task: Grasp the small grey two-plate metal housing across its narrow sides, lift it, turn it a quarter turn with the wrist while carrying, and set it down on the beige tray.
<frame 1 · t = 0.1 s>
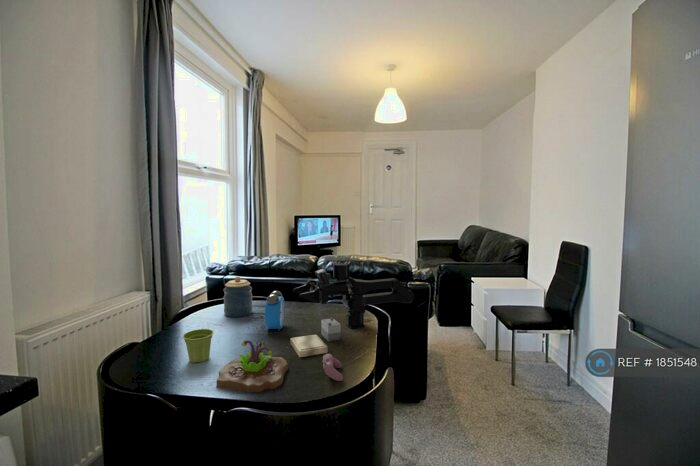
hand: (296, 292, 139), 17 cm above the table, tool horizontal, fingers open, 9 cm apart
plant pot: (199, 359, 118), on the table
plant: (253, 376, 107), on the table
housing: (330, 337, 138), on the table
canister: (238, 313, 167), on the table
beige tray: (308, 347, 127), on the table
alarm clock: (275, 328, 147), on the table
video game controller: (332, 375, 107), on the table
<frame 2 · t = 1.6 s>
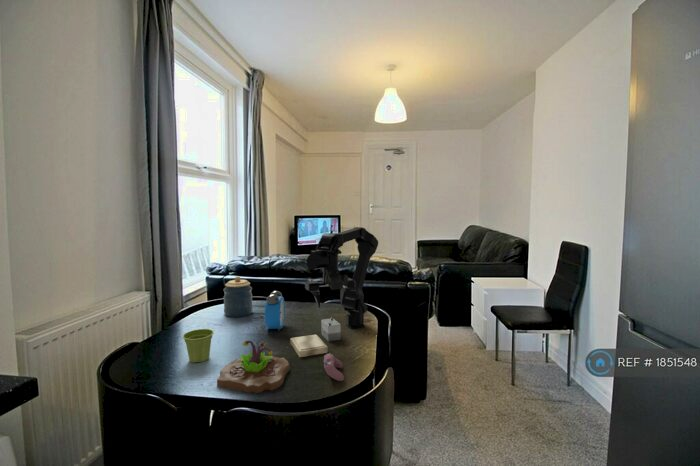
hand: (330, 306, 137), 12 cm above the table, tool pointing down, fingers open, 9 cm apart
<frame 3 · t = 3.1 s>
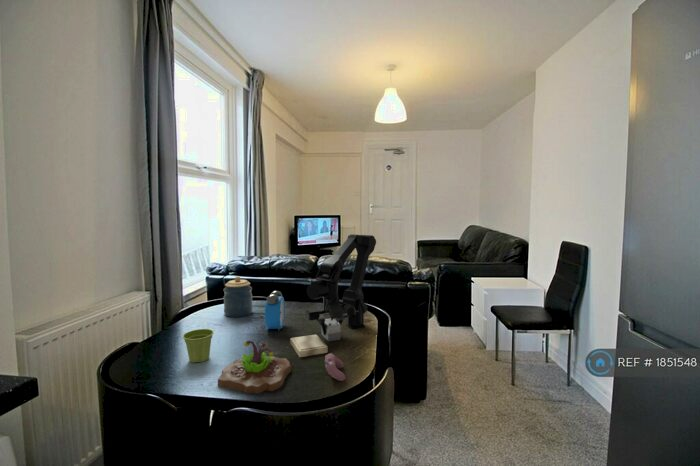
hand: (330, 333, 137), 1 cm above the table, tool pointing down, fingers closed on housing, 5 cm apart
housing: (330, 336, 138), on the table, touching gripper
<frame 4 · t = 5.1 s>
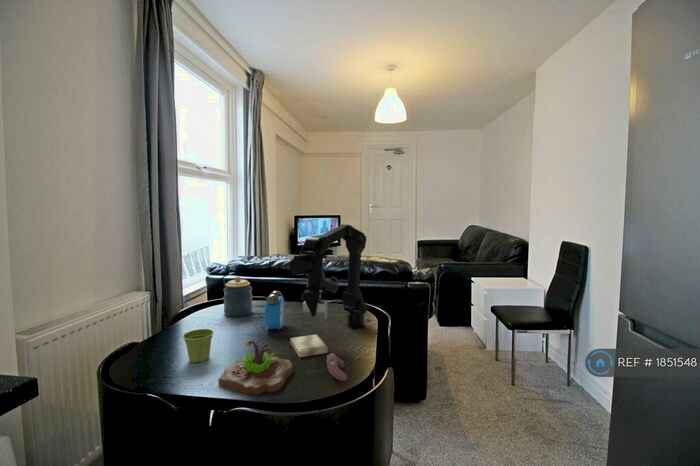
hand: (315, 314, 129), 11 cm above the table, tool pointing down, fingers closed on housing, 5 cm apart
housing: (315, 318, 129), point 10 cm above the table, touching gripper
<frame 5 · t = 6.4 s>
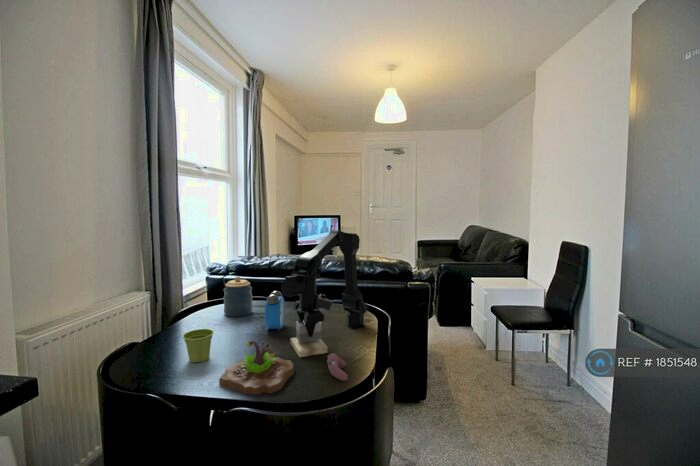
hand: (308, 334, 127), 5 cm above the table, tool pointing down, fingers closed on housing, 5 cm apart
housing: (308, 338, 127), point 3 cm above the table, touching gripper
when the fingers open (4 cm above the table, at t = 7.0 s): housing stays where it is, resting on beige tray.
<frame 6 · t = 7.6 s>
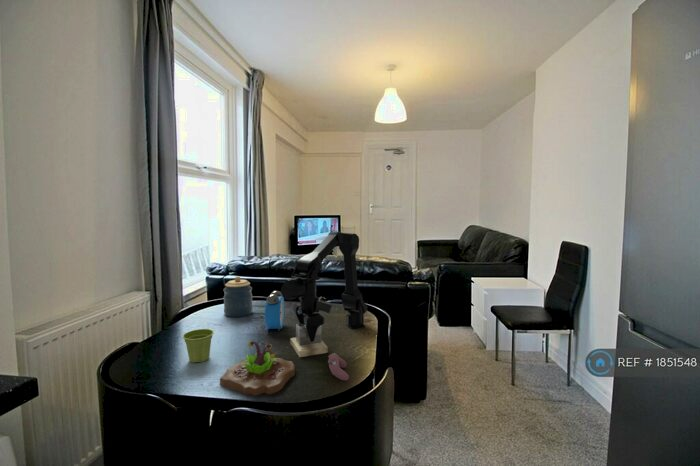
hand: (308, 336, 127), 4 cm above the table, tool pointing down, fingers open, 9 cm apart
housing: (308, 341, 127), point 2 cm above the table, touching beige tray
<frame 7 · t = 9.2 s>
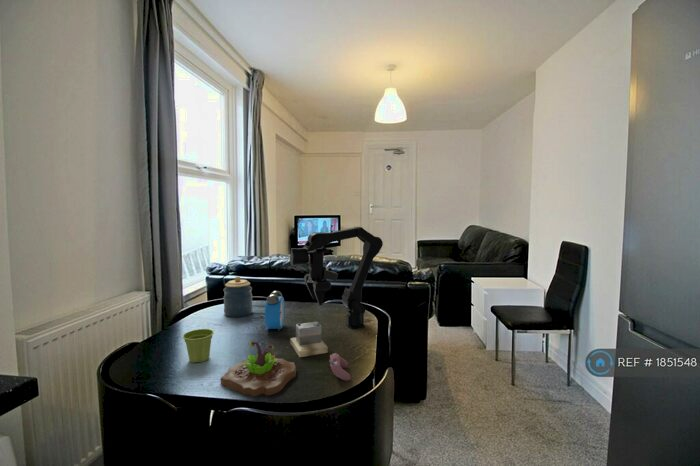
hand: (317, 302, 143), 12 cm above the table, tool pointing down, fingers open, 9 cm apart
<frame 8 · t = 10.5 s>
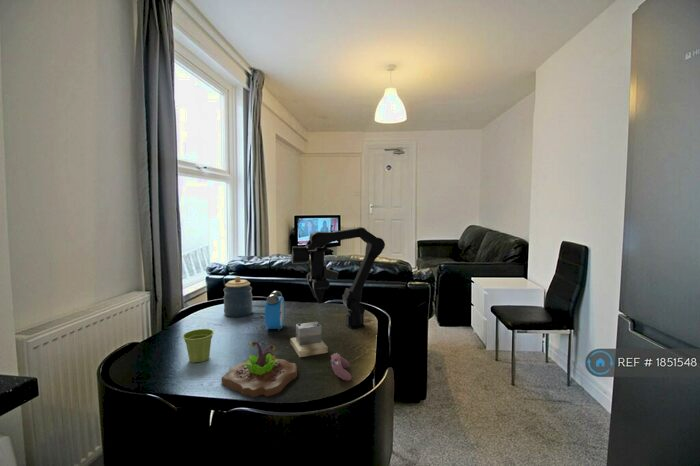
hand: (317, 300, 145), 12 cm above the table, tool pointing down, fingers open, 9 cm apart
at the end: housing inside the target area on the beige tray (0.1 cm from its centre), point 2.3 cm above the beige tray's base; the gripper is holding nothing; housing tilted 0° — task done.
